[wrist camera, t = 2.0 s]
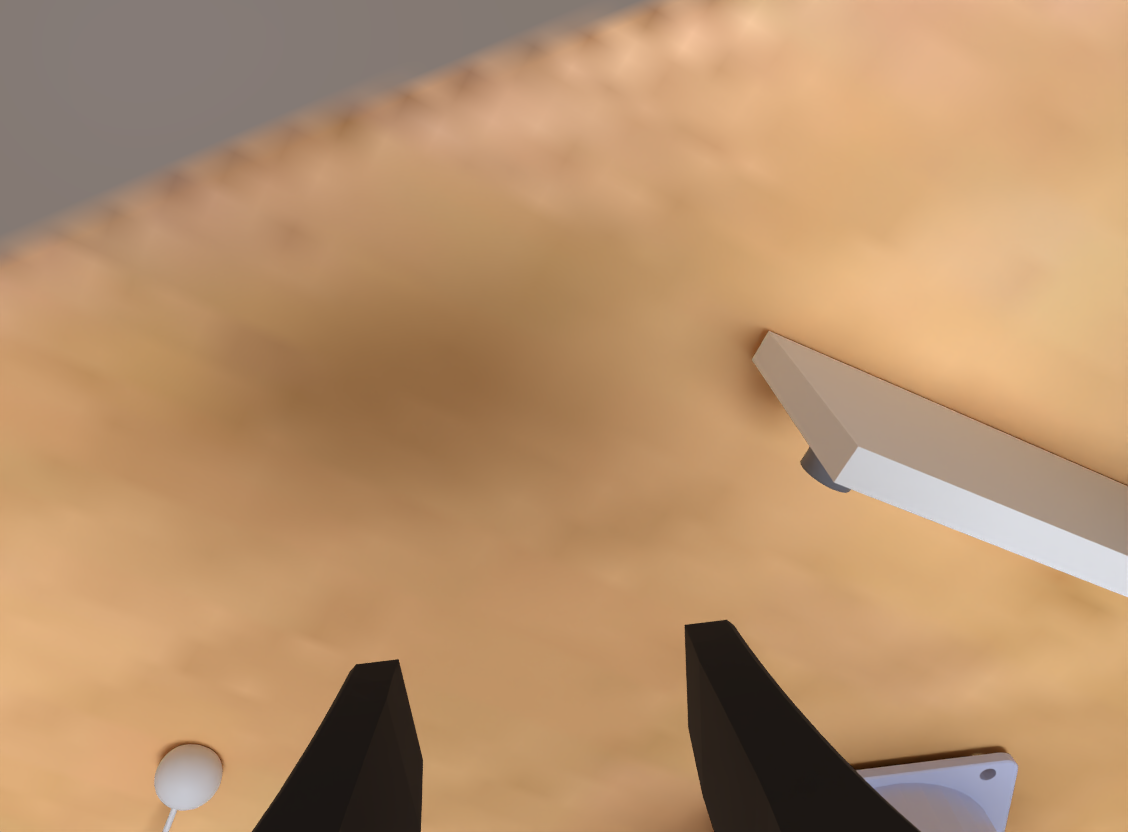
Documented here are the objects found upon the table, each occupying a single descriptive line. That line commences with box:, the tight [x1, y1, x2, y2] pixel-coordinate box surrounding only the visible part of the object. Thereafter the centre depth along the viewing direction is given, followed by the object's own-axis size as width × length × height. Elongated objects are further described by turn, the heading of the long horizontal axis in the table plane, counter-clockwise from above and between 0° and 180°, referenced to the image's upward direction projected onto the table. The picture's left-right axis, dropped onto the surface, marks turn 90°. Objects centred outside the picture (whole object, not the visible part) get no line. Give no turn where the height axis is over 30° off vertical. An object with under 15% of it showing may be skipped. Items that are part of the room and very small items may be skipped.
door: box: [752, 331, 1128, 597], centre depth 20 cm, size 2×14×6 cm, turn 65°
